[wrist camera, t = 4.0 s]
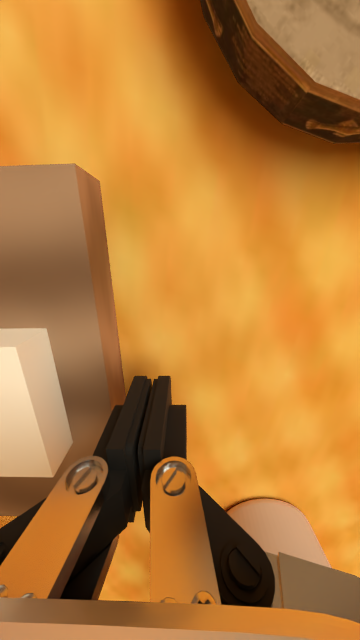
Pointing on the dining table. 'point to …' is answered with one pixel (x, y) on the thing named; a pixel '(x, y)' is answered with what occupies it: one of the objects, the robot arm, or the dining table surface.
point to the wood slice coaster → (295, 60)
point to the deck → (60, 302)
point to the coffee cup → (279, 529)
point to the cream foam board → (30, 406)
